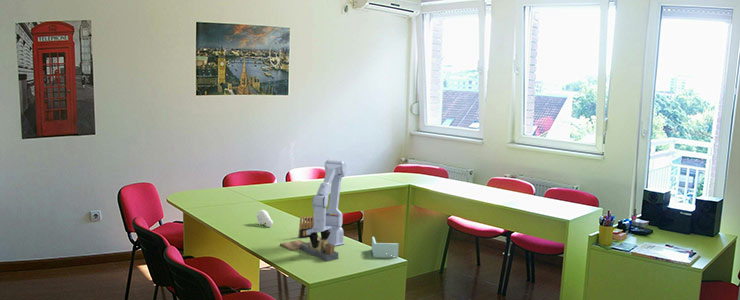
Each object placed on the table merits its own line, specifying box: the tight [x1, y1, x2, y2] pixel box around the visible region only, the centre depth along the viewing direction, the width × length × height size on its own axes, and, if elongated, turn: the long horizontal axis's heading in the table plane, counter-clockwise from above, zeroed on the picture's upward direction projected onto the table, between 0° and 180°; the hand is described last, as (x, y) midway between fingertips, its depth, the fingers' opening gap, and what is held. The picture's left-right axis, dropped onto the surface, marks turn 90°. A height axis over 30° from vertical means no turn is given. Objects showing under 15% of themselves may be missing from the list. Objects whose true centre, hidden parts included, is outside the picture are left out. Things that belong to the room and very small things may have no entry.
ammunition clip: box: [297, 215, 318, 239], centre depth 306 cm, size 11×2×12 cm, turn 122°
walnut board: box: [279, 239, 306, 251], centre depth 290 cm, size 12×11×1 cm
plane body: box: [299, 241, 339, 262], centre depth 277 cm, size 7×22×7 cm, turn 42°
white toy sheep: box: [256, 209, 274, 228], centre depth 327 cm, size 6×8×12 cm
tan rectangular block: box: [309, 235, 328, 251], centre depth 277 cm, size 4×9×5 cm, turn 42°
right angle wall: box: [371, 236, 400, 259], centre depth 282 cm, size 12×12×8 cm
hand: (318, 246), depth 277 cm, fingers open, 5 cm apart
